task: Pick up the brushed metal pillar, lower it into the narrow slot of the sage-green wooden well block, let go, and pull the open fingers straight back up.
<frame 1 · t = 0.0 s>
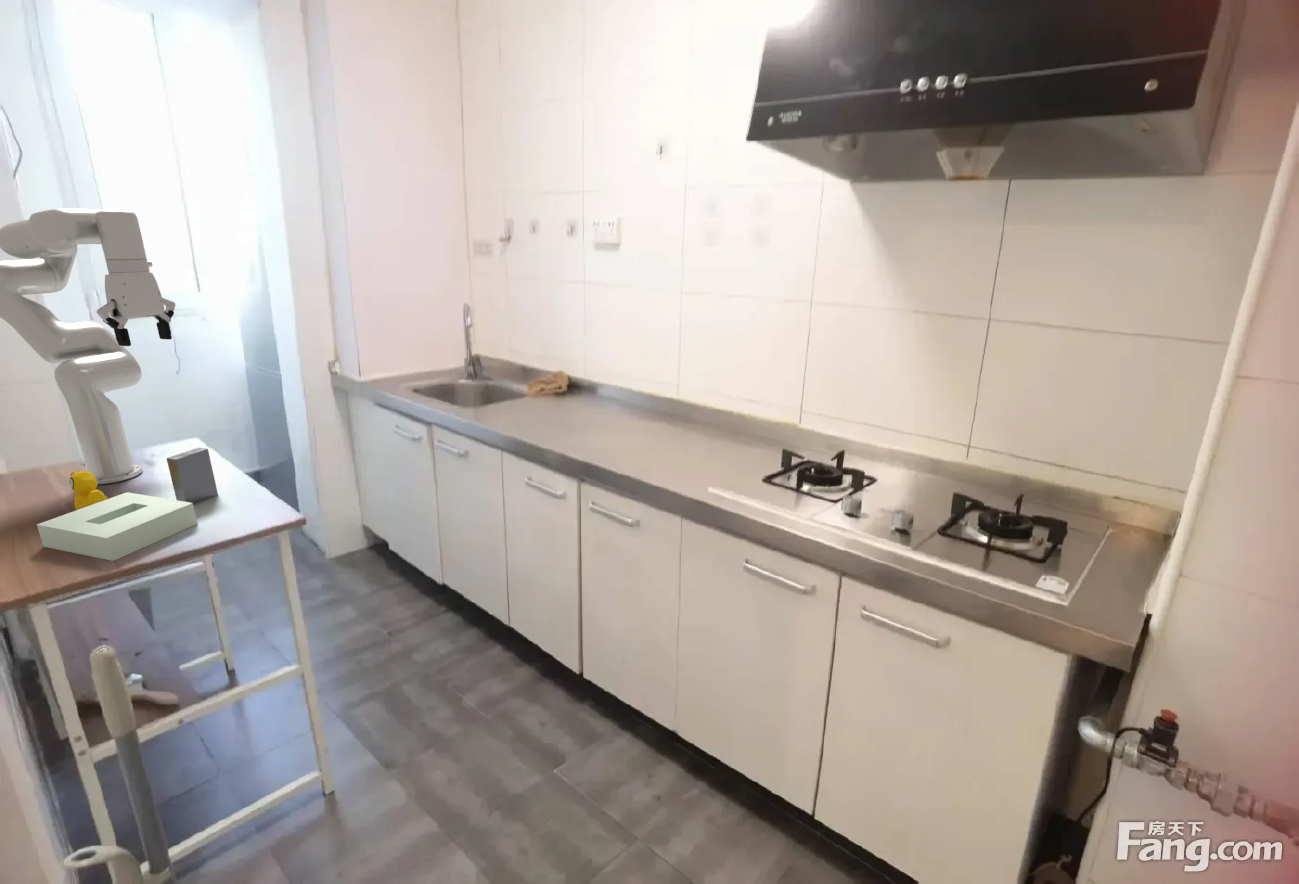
hand: (146, 342, 156), 37 cm above the table, tool pointing down, fingers open, 9 cm apart
duckling: (94, 513, 152), on the table
well: (123, 534, 141), on the table
brushed metal pillar: (198, 500, 159), on the table
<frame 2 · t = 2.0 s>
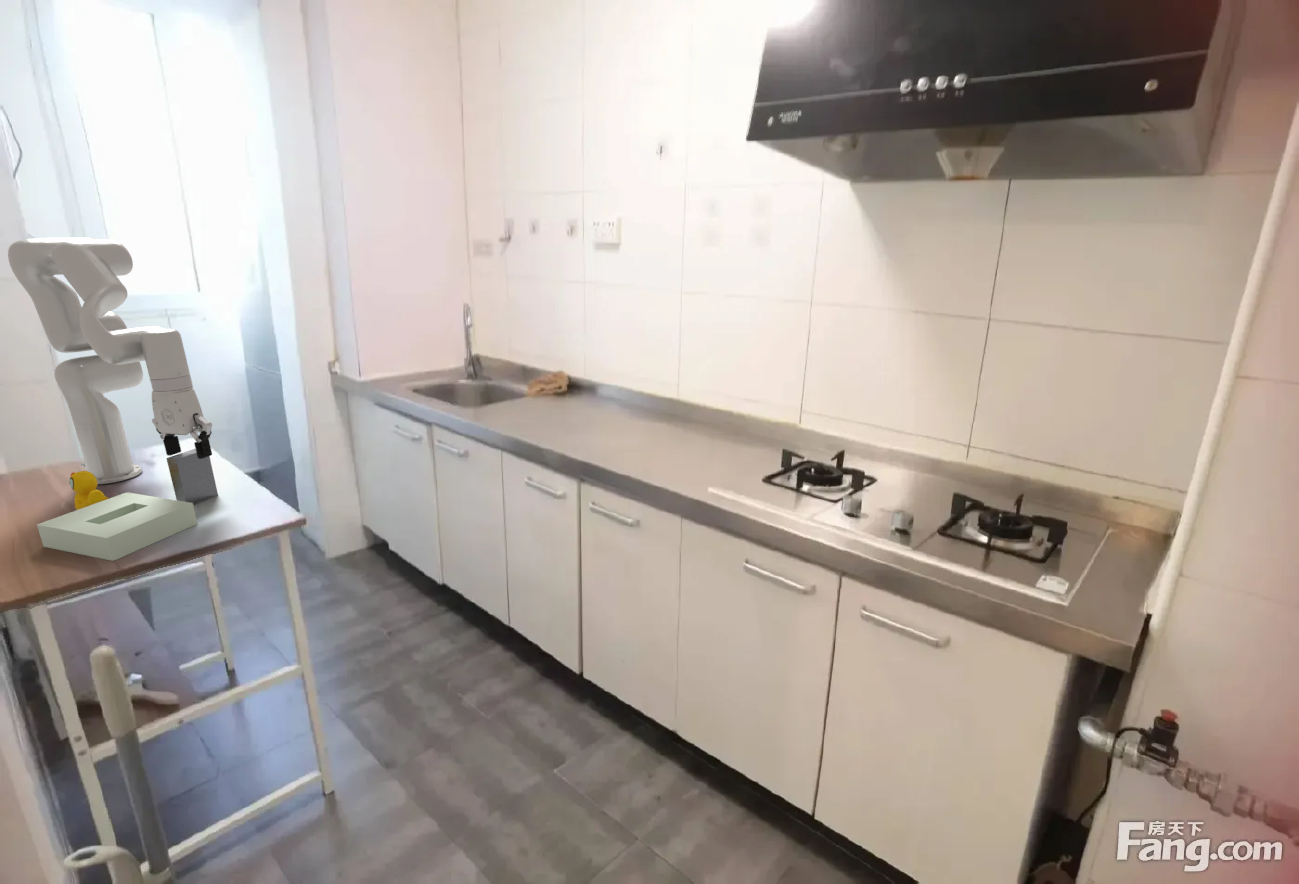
hand: (189, 455, 155), 12 cm above the table, tool pointing down, fingers open, 9 cm apart
nothing on the table moved.
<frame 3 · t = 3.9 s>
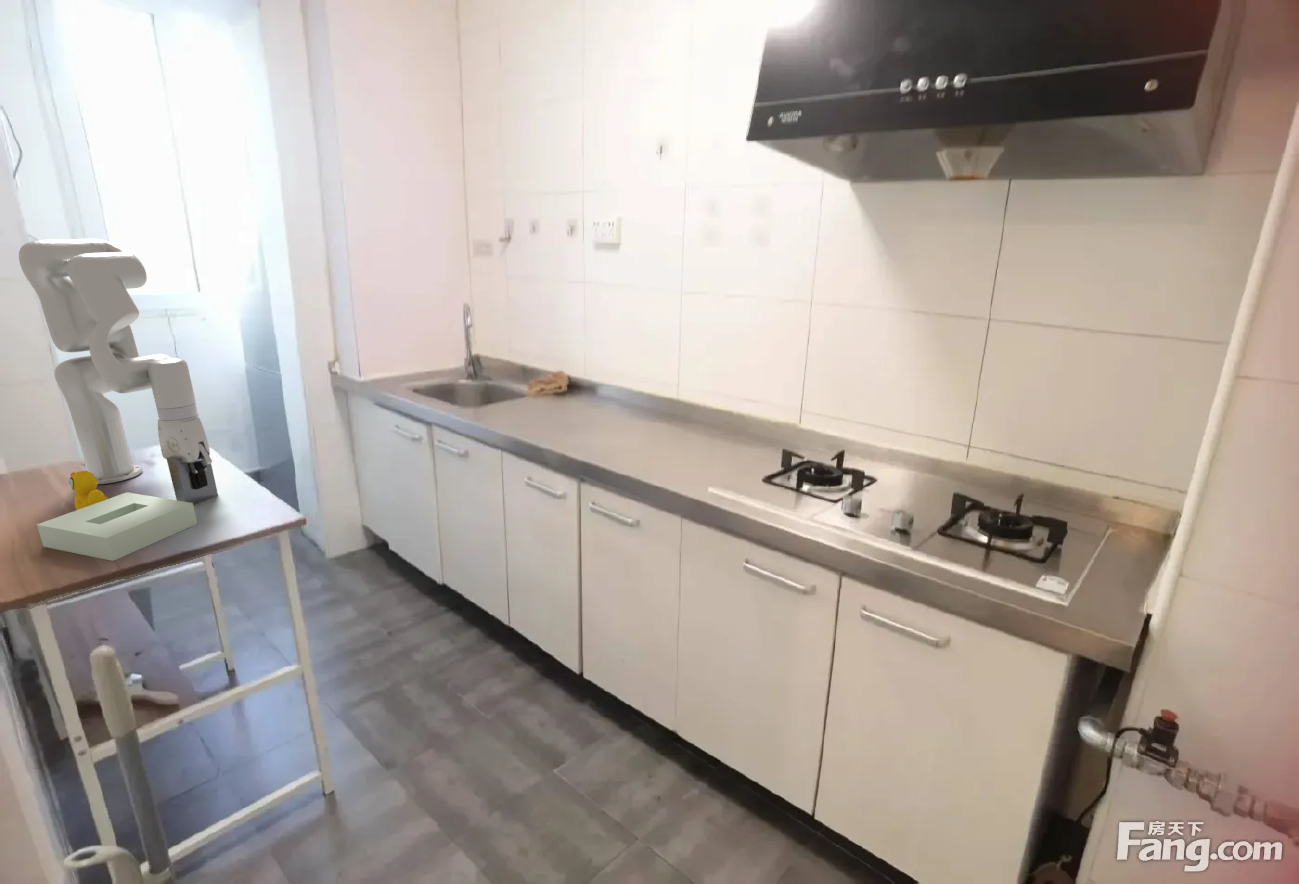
hand: (195, 485, 158), 4 cm above the table, tool pointing down, fingers closed on brushed metal pillar, 3 cm apart
brushed metal pillar: (198, 500, 159), on the table, touching gripper
everything else where it was.
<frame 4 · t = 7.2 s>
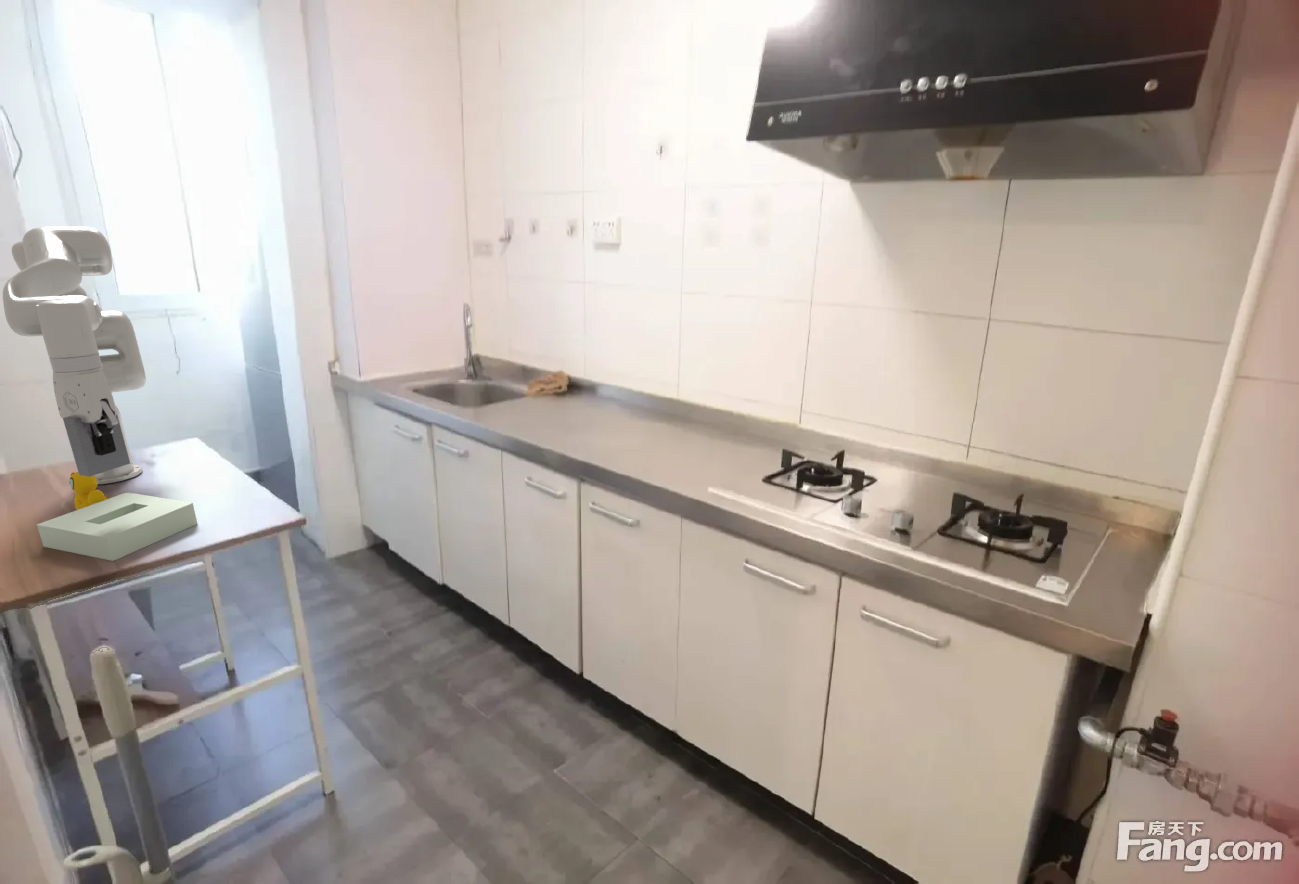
hand: (100, 451, 135), 19 cm above the table, tool pointing down, fingers closed on brushed metal pillar, 3 cm apart
brushed metal pillar: (105, 469, 137), point 15 cm above the table, touching gripper
everything else where it was.
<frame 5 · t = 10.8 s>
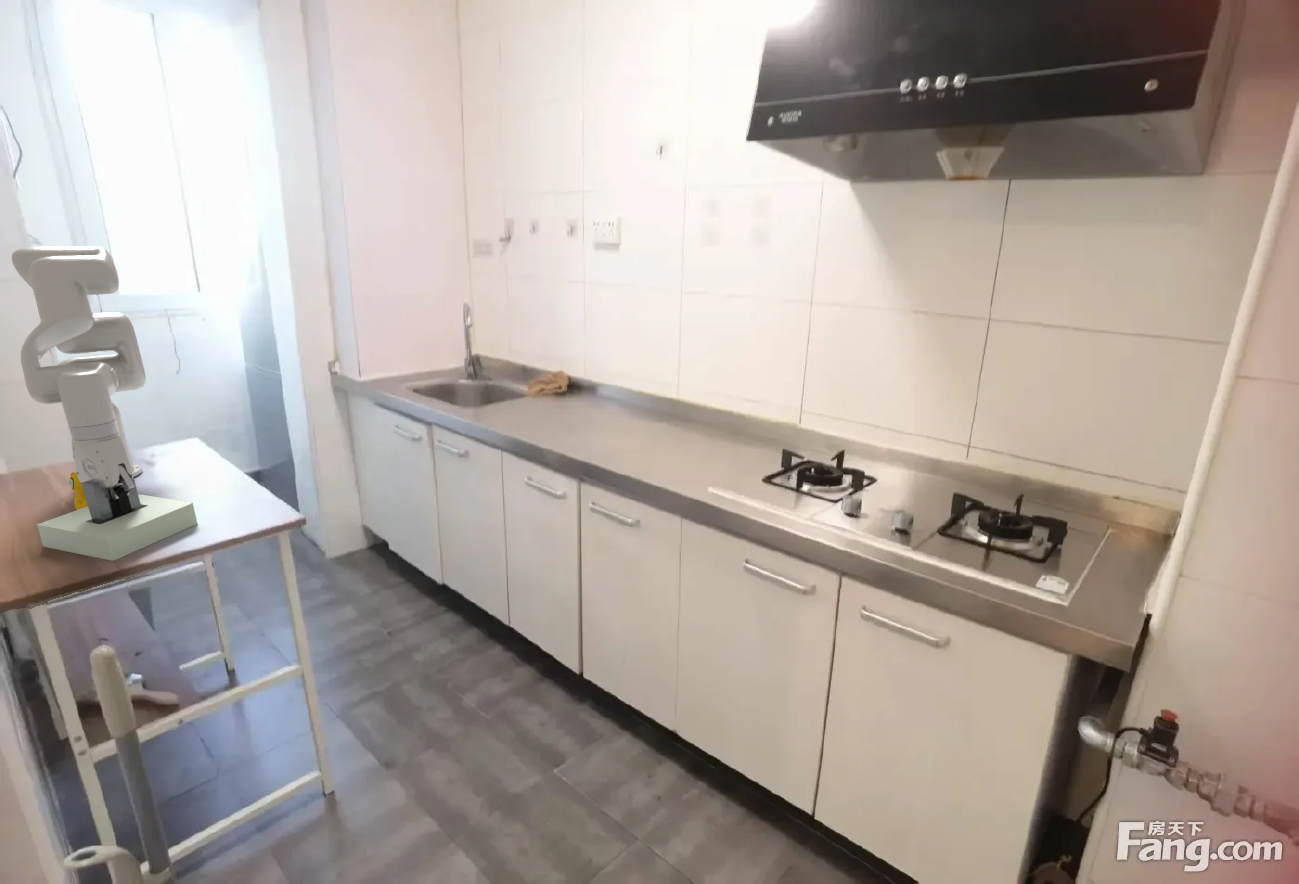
hand: (117, 512, 140), 5 cm above the table, tool pointing down, fingers closed on brushed metal pillar, 2 cm apart
brushed metal pillar: (121, 529, 141), point 1 cm above the table, touching gripper
everything else where it was.
when the fingers open (5 cm above the table, at t = 10.9 s): brushed metal pillar drops 1 cm, resting in well.
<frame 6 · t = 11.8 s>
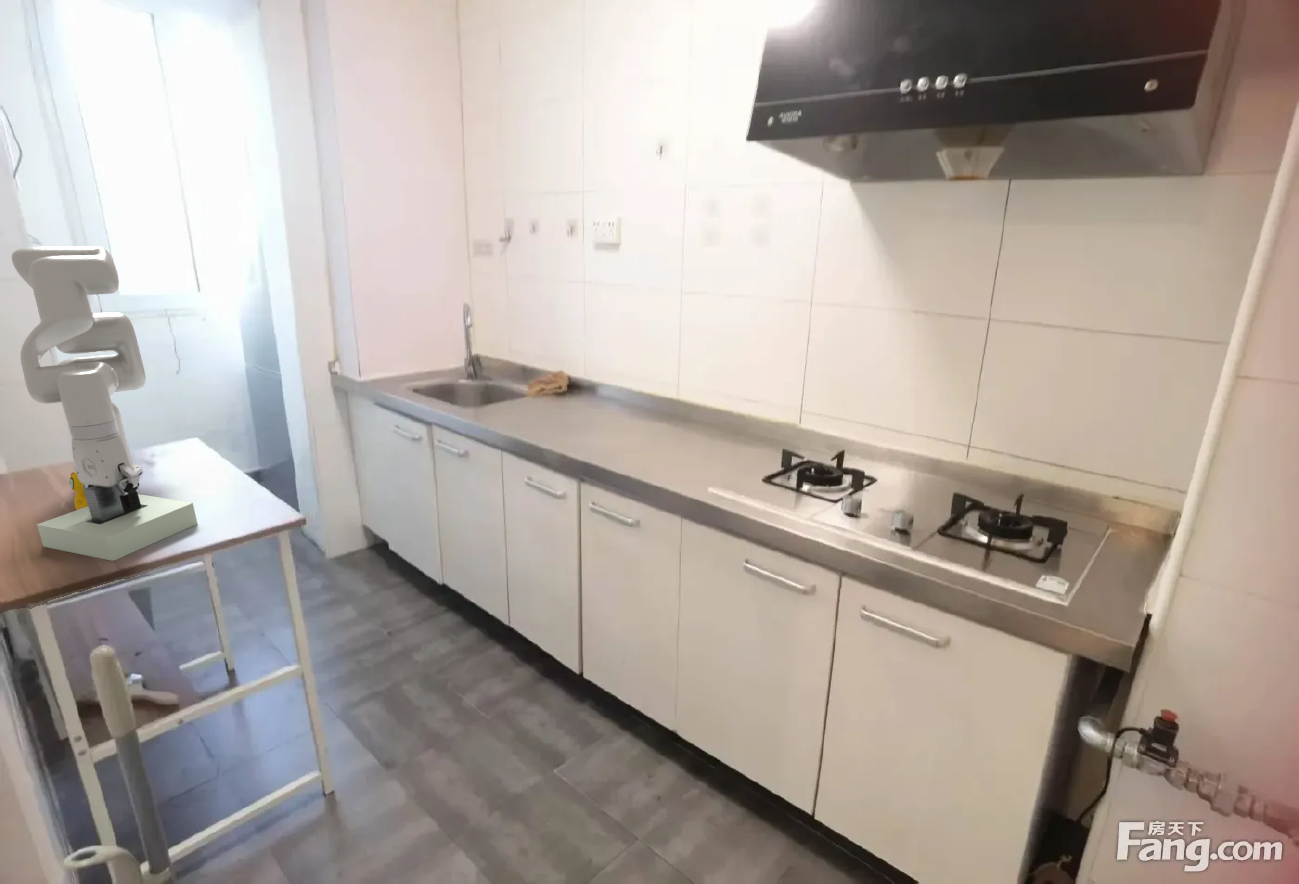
hand: (116, 507, 139), 6 cm above the table, tool pointing down, fingers open, 9 cm apart
brushed metal pillar: (123, 535, 141), resting in well
everything else where it was.
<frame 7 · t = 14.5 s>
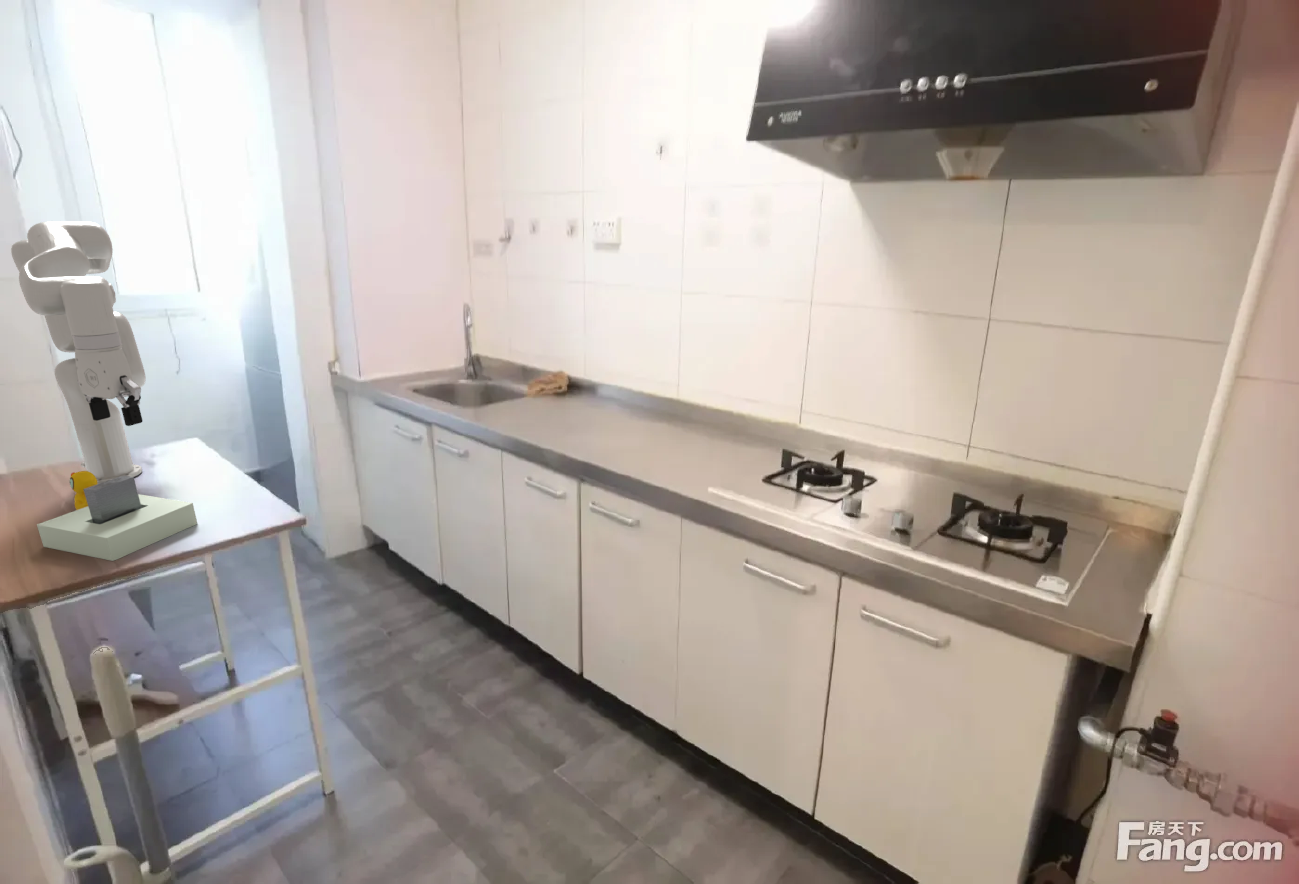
hand: (118, 421, 141), 23 cm above the table, tool pointing down, fingers open, 9 cm apart
nothing on the table moved.
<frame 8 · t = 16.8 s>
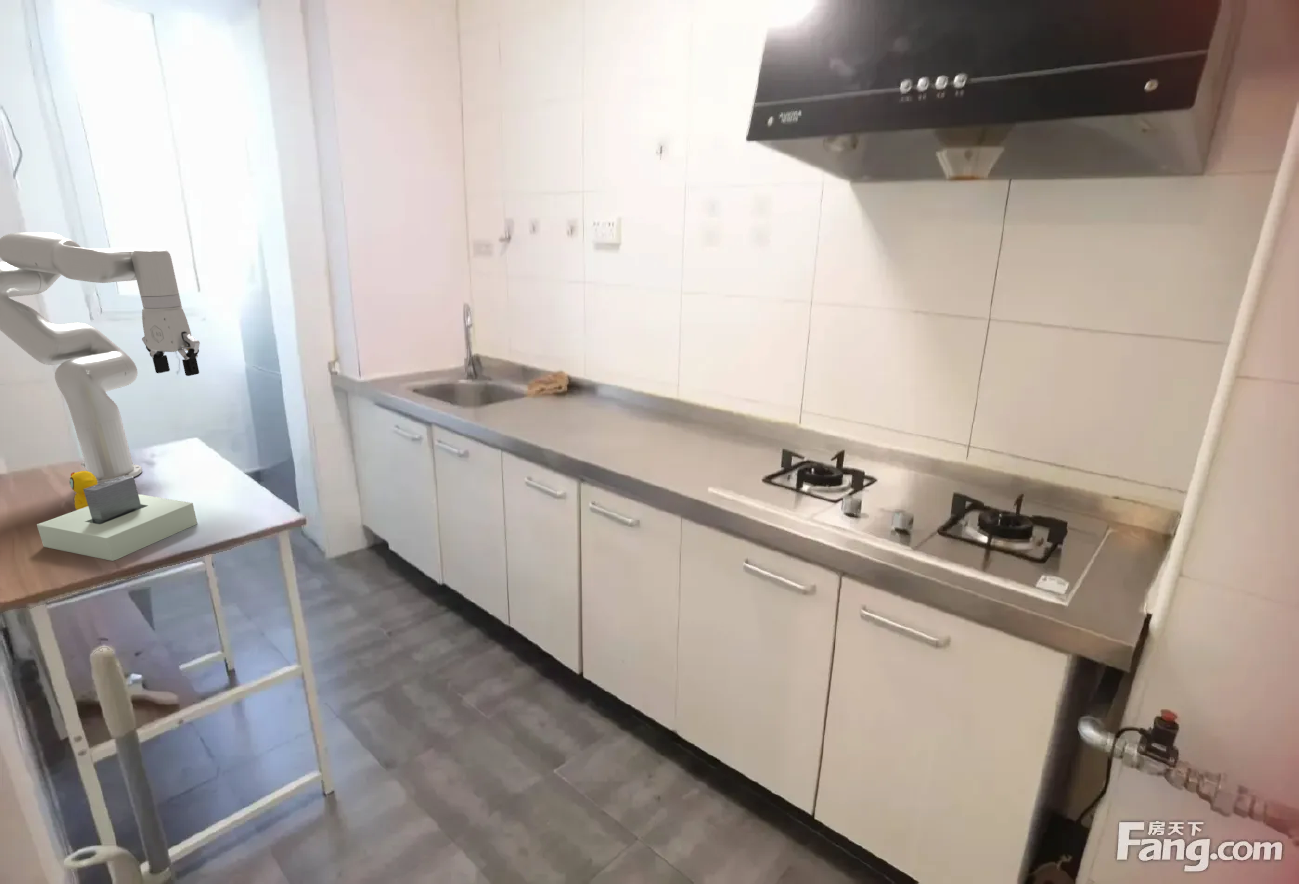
hand: (177, 373, 162), 28 cm above the table, tool pointing down, fingers open, 9 cm apart
nothing on the table moved.
at the end: brushed metal pillar 0.1 cm off-centre on the well, point 0.0 cm above the well's base; brushed metal pillar tilted 0°; the gripper is holding nothing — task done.
